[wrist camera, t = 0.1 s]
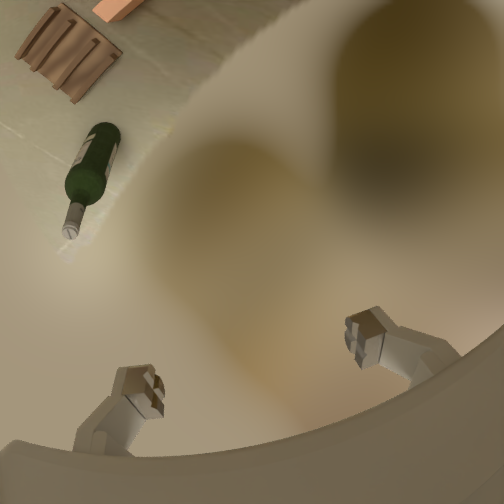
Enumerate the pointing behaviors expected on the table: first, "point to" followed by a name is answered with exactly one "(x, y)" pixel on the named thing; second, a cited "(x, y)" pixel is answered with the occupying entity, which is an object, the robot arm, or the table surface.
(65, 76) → the rack
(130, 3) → the salmon rectangular prism
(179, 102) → the table surface
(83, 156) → the wine bottle
